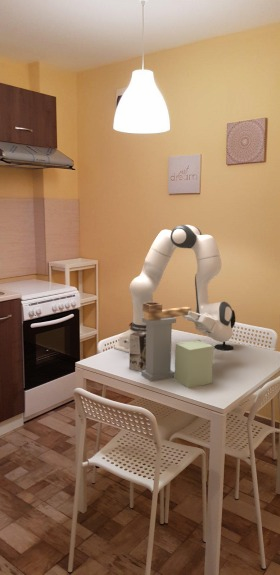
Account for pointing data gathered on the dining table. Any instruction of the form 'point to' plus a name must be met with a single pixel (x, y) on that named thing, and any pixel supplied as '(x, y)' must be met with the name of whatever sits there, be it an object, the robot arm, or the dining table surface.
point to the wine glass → (224, 346)
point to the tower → (158, 348)
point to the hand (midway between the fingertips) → (183, 310)
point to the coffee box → (137, 350)
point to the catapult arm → (162, 311)
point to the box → (193, 363)
